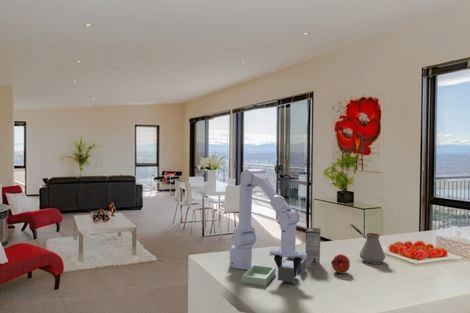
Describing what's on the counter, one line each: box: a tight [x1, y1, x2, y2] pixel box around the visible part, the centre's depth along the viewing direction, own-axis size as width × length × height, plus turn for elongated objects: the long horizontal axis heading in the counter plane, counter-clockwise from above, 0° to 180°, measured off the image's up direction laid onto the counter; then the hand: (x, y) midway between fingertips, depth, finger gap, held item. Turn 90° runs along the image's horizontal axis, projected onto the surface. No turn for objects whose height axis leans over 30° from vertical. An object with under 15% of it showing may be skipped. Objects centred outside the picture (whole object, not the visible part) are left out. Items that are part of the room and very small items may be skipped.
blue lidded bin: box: [277, 260, 299, 283], centre depth 164 cm, size 6×11×6 cm, turn 161°
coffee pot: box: [348, 224, 386, 265], centre depth 198 cm, size 21×12×15 cm, turn 25°
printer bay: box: [282, 257, 307, 277], centre depth 175 cm, size 8×8×6 cm
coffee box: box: [305, 227, 321, 269], centre depth 186 cm, size 9×6×16 cm
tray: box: [241, 264, 277, 287], centre depth 166 cm, size 10×16×3 cm, turn 161°
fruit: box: [330, 254, 351, 274], centre depth 175 cm, size 8×8×8 cm
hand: (287, 275), depth 162 cm, fingers closed on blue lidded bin, 5 cm apart
